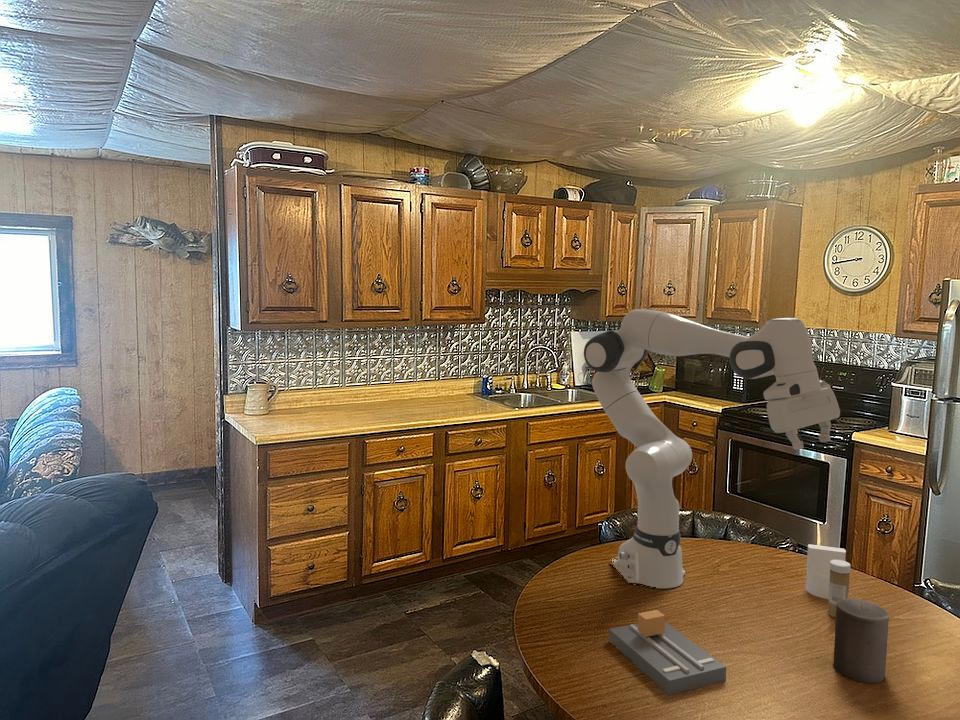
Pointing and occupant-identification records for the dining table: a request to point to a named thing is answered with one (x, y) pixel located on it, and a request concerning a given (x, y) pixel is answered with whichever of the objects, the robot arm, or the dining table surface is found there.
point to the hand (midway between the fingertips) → (812, 445)
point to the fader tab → (651, 623)
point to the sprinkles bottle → (838, 584)
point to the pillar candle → (861, 640)
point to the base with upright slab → (821, 568)
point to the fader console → (668, 658)
